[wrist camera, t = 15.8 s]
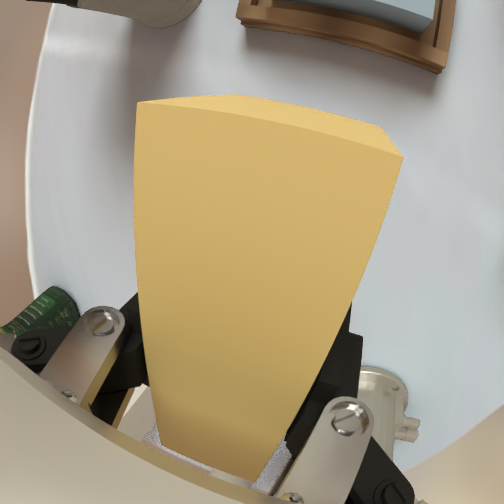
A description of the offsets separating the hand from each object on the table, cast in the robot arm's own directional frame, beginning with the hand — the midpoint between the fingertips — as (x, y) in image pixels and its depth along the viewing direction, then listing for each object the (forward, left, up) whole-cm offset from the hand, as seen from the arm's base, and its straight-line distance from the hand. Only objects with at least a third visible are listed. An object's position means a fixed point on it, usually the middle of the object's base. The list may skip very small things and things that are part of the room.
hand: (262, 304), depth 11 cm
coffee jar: (+35, +32, -18) cm, 51 cm away
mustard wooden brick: (0, 0, 0) cm, 1 cm away
